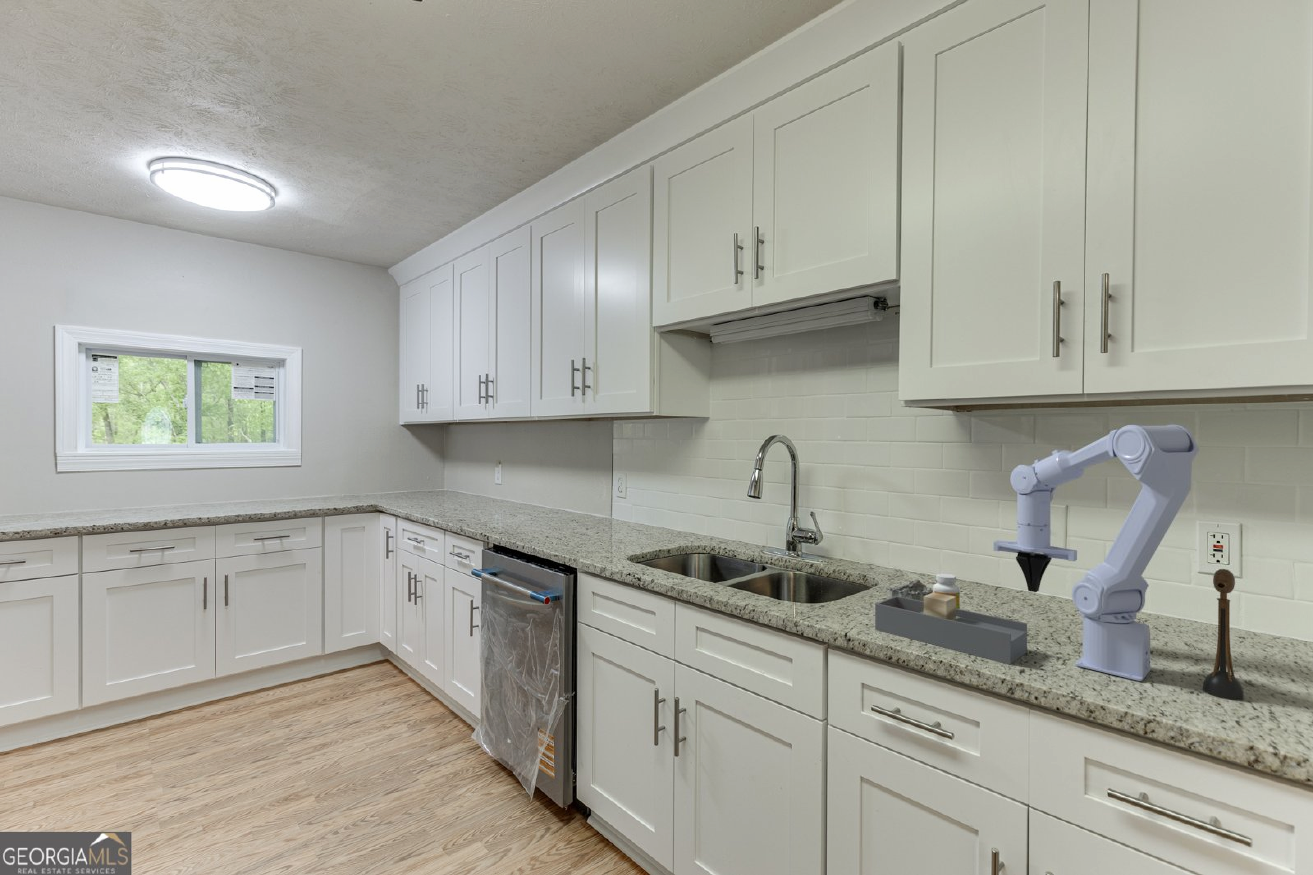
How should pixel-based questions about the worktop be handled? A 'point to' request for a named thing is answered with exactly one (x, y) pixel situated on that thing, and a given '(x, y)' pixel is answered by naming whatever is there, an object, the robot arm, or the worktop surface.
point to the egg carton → (911, 591)
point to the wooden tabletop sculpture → (1223, 644)
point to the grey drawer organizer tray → (954, 629)
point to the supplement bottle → (947, 587)
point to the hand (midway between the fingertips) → (1033, 590)
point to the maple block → (940, 606)
